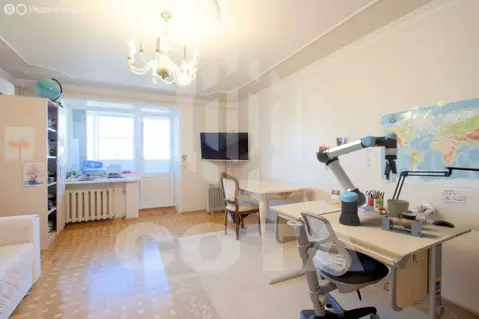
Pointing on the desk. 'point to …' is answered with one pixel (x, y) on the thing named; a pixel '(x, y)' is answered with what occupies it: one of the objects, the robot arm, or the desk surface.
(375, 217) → the desk surface
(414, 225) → the bracket
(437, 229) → the desk surface
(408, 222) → the wooden cylinder
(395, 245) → the desk surface
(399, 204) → the plant pot
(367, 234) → the desk surface
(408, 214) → the coffee mug
